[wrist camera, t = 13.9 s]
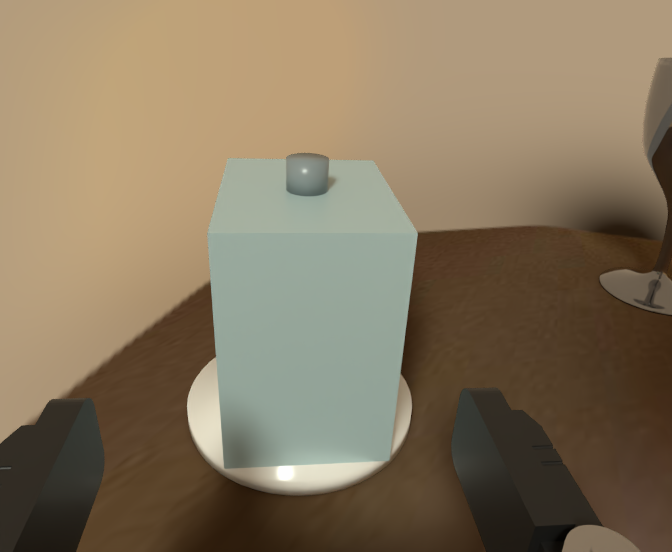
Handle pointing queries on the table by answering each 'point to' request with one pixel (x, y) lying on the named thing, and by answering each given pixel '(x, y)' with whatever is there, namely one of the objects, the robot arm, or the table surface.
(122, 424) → the table surface
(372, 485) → the table surface
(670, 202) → the wine glass
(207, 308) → the table surface
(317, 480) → the plate
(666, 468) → the table surface
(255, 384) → the cloche
